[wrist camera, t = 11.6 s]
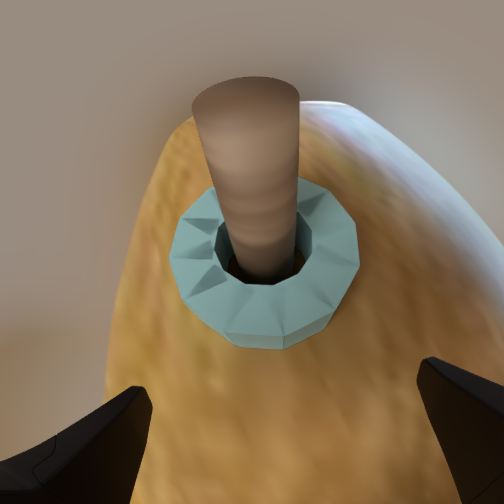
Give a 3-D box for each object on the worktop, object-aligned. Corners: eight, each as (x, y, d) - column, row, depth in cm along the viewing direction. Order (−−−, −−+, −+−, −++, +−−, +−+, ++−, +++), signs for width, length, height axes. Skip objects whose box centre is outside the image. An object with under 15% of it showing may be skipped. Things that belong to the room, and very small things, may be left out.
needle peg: (301, 281, 19) (320, 107, 7) (253, 303, 18) (208, 139, 7) (279, 241, 20) (269, 70, 9) (234, 260, 20) (182, 94, 9)
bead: (346, 351, 16) (363, 337, 12) (178, 339, 17) (153, 323, 14) (339, 211, 21) (347, 176, 18) (205, 208, 23) (193, 174, 19)
